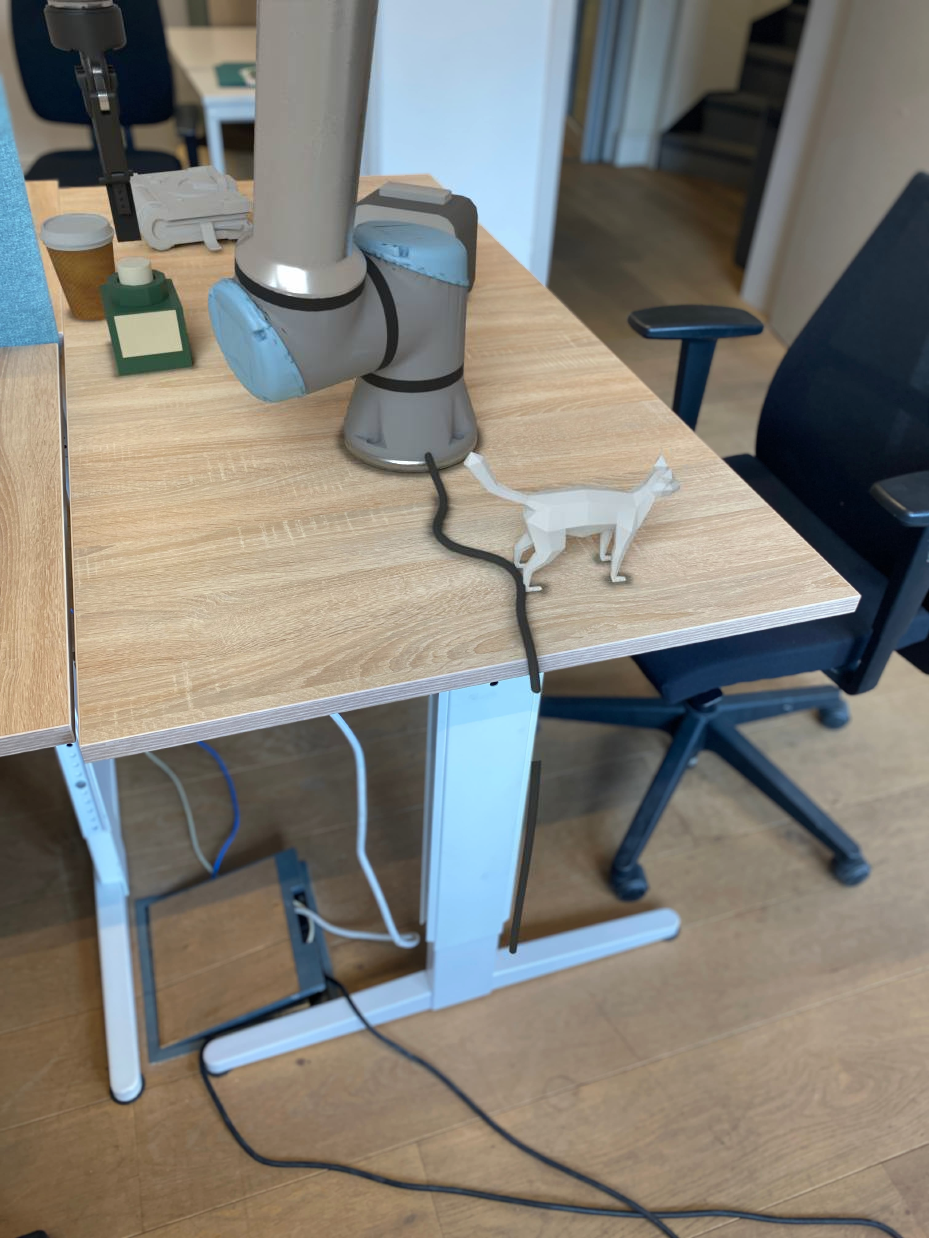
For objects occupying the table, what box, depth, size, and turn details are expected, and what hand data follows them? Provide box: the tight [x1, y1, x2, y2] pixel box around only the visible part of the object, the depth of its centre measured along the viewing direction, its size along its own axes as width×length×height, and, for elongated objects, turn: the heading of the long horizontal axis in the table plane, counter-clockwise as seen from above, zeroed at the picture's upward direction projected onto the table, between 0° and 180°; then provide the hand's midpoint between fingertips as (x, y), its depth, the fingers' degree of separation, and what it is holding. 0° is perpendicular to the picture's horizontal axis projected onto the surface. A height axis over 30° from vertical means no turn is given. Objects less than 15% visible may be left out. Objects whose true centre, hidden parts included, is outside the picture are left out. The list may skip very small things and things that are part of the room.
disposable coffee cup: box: [38, 212, 116, 321], centre depth 123 cm, size 10×10×12 cm
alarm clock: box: [354, 180, 479, 294], centre depth 131 cm, size 16×11×16 cm
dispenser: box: [99, 268, 193, 377], centre depth 114 cm, size 10×9×10 cm
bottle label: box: [114, 310, 183, 358], centre depth 111 cm, size 1×7×5 cm, turn 112°
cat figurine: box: [463, 451, 682, 593], centre depth 81 cm, size 4×20×14 cm, turn 102°
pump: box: [115, 256, 154, 286], centre depth 111 cm, size 4×4×2 cm
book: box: [130, 164, 253, 252], centre depth 153 cm, size 19×28×8 cm
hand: (129, 239), depth 108 cm, fingers closed
